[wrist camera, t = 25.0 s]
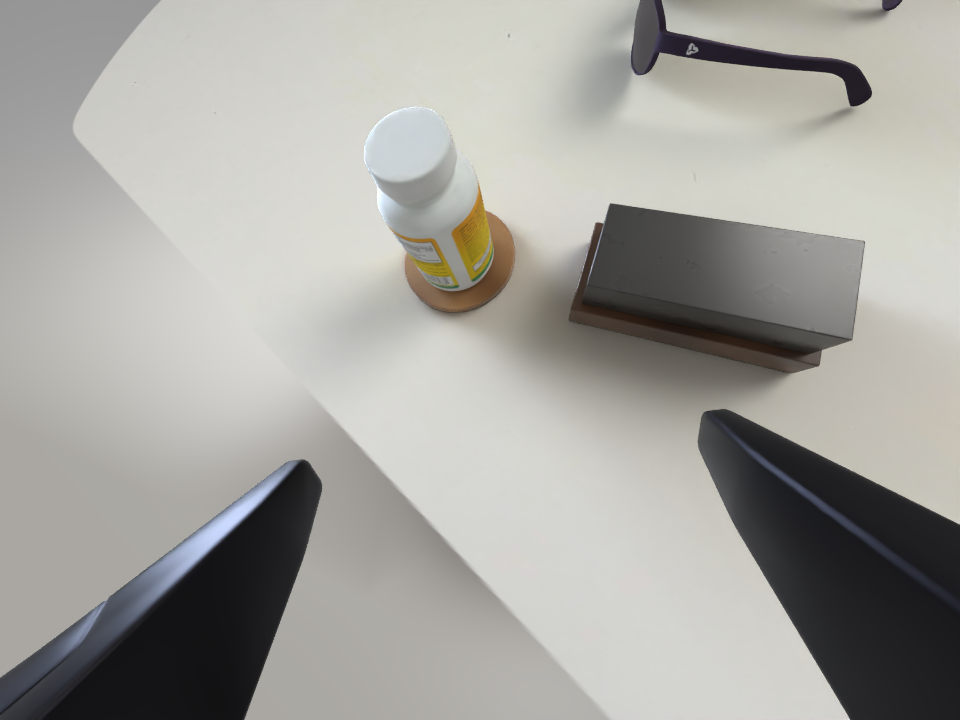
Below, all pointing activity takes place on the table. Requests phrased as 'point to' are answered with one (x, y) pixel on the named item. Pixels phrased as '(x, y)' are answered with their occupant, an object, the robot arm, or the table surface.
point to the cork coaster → (482, 289)
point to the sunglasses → (733, 51)
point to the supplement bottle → (430, 197)
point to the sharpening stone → (720, 286)
